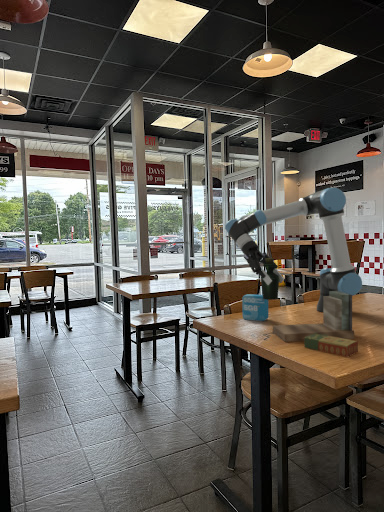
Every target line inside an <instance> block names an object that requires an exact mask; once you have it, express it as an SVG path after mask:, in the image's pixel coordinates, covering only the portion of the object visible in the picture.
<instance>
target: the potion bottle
mask: <svg viewBox="0 0 384 512" xmlns="http://www.w3.org/2000/svg"><path fill="white" fill-rule="evenodd" d="M265 259H266V263H264V264H263V265H262V266H263V267H264V268H265V272H266V273H267V275H268V276H269V277H270V279H271V280H272V282H271V283H270V284H269V285H267V284H266V282H265V281H264V280H263V278H262V277H261V276H260V282H261V283H260V284H261V291H262V292H261V293H262V294H261V295H263V299H266V300H268V301H270V300H272V301H273V300H278V298H279V287H280V283H279V276H278V275H277V274H275V273H274V272H273V270H274V267H275V266H276V265H277V263H276V262H275V261H274V259H275V258H273V257H270V258H265ZM273 261H274V262H275V263H273Z"/></svg>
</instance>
